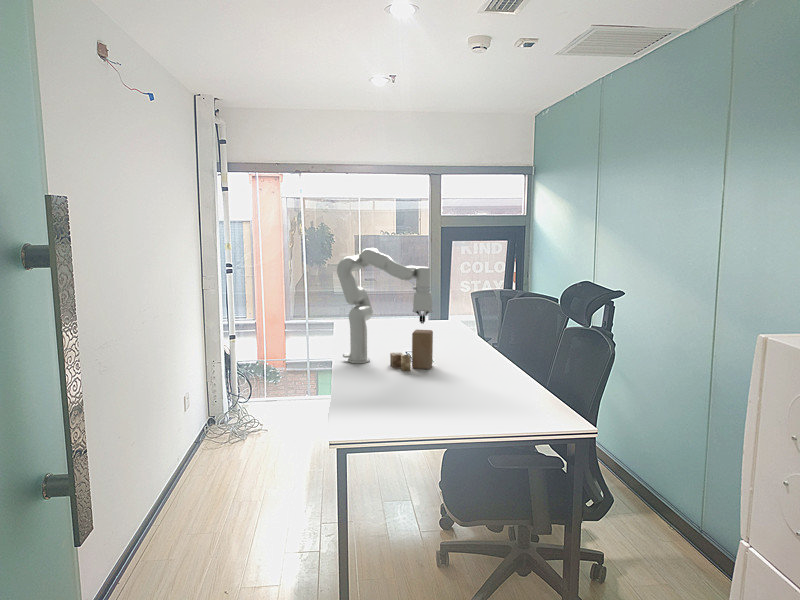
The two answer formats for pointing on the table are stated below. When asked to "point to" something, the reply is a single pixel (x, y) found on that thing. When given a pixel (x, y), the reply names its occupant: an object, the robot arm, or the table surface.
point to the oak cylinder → (405, 362)
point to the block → (422, 349)
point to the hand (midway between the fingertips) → (422, 323)
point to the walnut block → (395, 360)
